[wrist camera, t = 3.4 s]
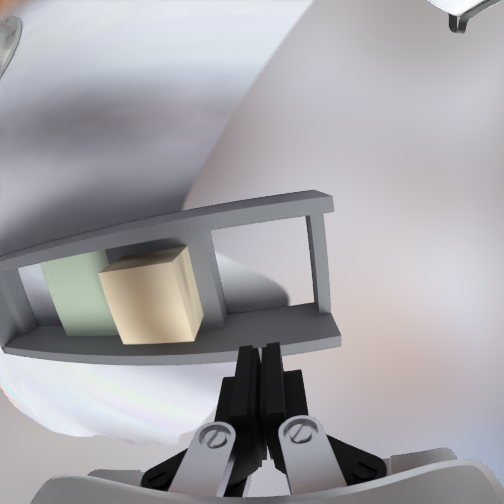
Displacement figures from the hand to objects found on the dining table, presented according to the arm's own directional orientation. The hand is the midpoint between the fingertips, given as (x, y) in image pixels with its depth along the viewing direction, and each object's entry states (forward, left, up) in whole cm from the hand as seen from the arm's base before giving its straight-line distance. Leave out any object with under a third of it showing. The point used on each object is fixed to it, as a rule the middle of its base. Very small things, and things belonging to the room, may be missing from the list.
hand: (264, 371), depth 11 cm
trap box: (-14, 0, -14) cm, 19 cm away
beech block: (-8, 0, -11) cm, 14 cm away
